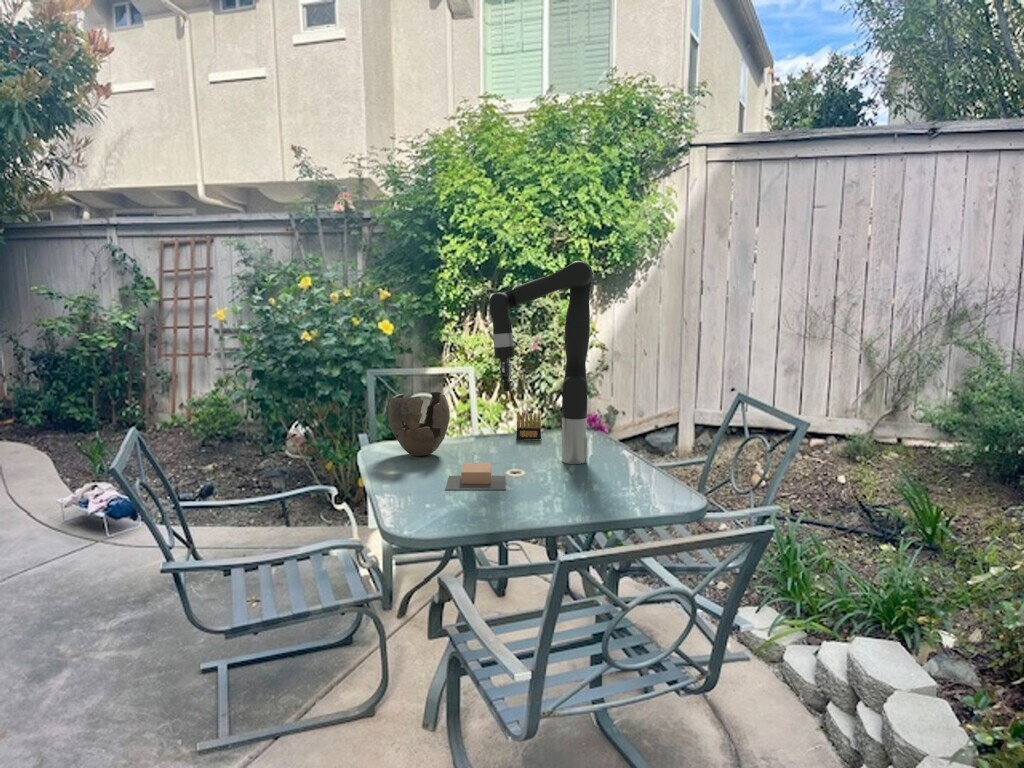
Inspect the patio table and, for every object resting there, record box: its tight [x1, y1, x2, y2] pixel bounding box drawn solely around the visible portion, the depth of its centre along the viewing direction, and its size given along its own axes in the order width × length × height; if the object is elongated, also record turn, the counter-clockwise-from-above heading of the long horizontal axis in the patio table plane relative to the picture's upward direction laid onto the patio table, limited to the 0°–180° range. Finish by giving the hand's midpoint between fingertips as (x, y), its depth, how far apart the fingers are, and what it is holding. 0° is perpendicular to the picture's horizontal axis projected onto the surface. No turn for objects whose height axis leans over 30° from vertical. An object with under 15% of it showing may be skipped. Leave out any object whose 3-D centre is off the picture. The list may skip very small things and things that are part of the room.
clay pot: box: [387, 391, 451, 457], centre depth 277 cm, size 24×24×25 cm
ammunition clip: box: [515, 411, 542, 441], centre depth 304 cm, size 11×2×12 cm, turn 87°
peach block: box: [460, 462, 493, 484], centre depth 245 cm, size 10×4×12 cm
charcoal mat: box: [444, 475, 507, 491], centre depth 242 cm, size 20×16×1 cm
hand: (507, 391), depth 269 cm, fingers closed
